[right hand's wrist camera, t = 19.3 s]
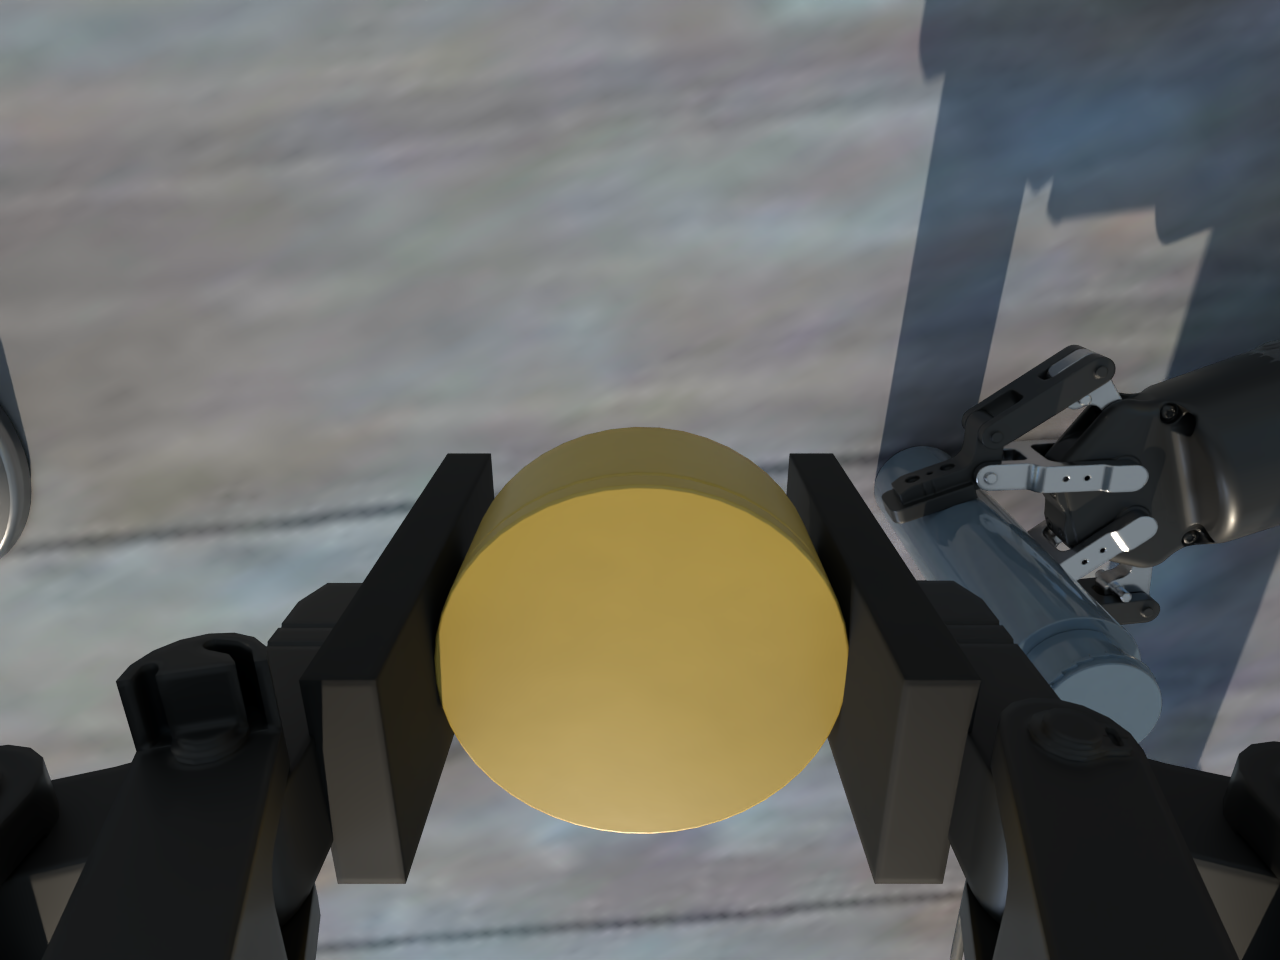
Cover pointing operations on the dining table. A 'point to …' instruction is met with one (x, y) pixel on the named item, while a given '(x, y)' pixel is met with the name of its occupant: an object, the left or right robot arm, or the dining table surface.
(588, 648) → the lid
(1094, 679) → the bottle
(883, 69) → the dining table surface
